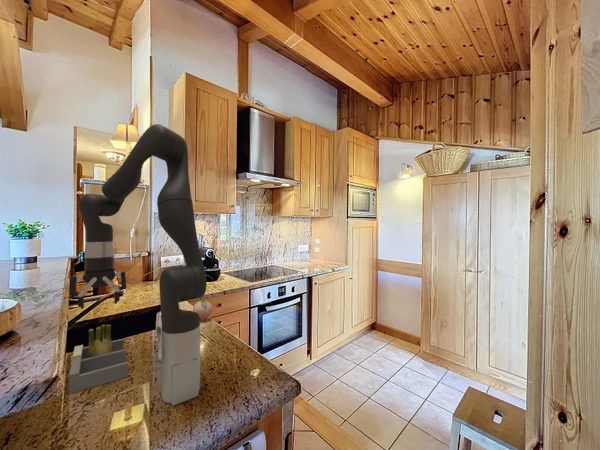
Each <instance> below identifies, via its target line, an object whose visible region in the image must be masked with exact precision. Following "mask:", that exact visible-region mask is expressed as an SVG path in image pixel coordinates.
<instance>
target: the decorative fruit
mask: <svg viewBox="0 0 600 450" xmlns="http://www.w3.org/2000/svg"><path fill="white" fill-rule="evenodd" d="M192 311H194V312H196V313H198V314H199V316H200V320H202V321H204V319H205V320H207V319H208V318H209V317H210V315H211V314H212V312H213V305H212V304H211V303H210V302H208V301H207V300H206V299H200V300H199V301H198V302H196V303H195V304H194V305H193V307H192Z"/></svg>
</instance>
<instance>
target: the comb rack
mask: <svg viewBox="0 0 600 450" xmlns="http://www.w3.org/2000/svg"><path fill="white" fill-rule="evenodd" d="M111 342H112V350H113V351H112V352H111V353H107V354H103V355H99V356H94V357H90V358H89V357H88V349H89V345H88V346H84V344H80V345H75V346H74V348H73V349H74V350H73V353H72V354H73V355H72V359H71V365H70V368H69V369H70V370H69V373H68V374H69V375H68V395H73V394H75V393H76V394H77V393H79V392H82V391H85V390H88V389H89V390H90V389H92V388H95V387H99V386H103V385H106V384H109V383H112V382H116V381H119V380H122V379H126V378H129V361H126V360H127V358H126V353H127V352H126V351H127V350H126V348H124V338H121V339H120V338H119V339H114V340H111ZM72 393H73V394H72Z"/></svg>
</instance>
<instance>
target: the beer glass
mask: <svg viewBox="0 0 600 450" xmlns="http://www.w3.org/2000/svg"><path fill="white" fill-rule="evenodd" d="M155 332H156V333H155V334H156V338H157V343H158V344H157V345H158V353H157V359H156V360H157V361H159V362H162V322H161V310H160V311H158V312H157V313H156V318H155Z"/></svg>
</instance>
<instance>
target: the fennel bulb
mask: <svg viewBox="0 0 600 450" xmlns="http://www.w3.org/2000/svg"><path fill="white" fill-rule="evenodd" d="M111 332H112V325H111V324H102V325H100V326H98V327H96V329H95V330H94V329H93V328H90V329H89V330H88V346H89V349H88V357H89V358H90V357H94V356H99V355H103V354H107V353H111V352H112V351H113V350H112V342H111V341H112V337H111Z"/></svg>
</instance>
